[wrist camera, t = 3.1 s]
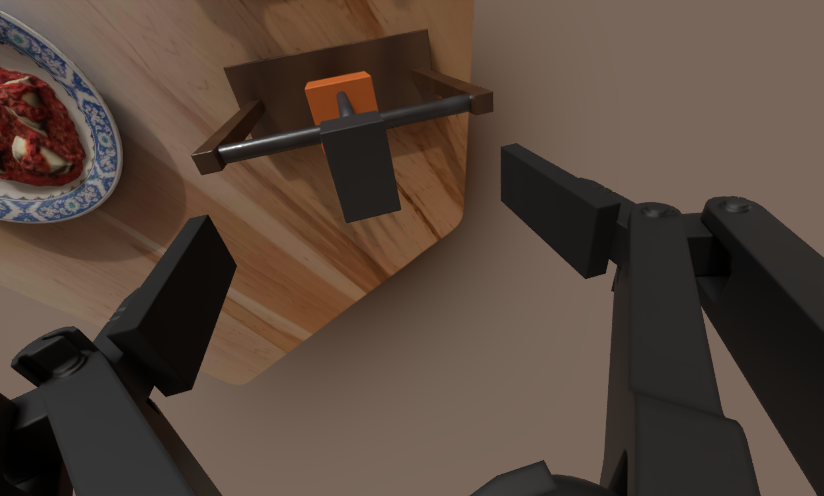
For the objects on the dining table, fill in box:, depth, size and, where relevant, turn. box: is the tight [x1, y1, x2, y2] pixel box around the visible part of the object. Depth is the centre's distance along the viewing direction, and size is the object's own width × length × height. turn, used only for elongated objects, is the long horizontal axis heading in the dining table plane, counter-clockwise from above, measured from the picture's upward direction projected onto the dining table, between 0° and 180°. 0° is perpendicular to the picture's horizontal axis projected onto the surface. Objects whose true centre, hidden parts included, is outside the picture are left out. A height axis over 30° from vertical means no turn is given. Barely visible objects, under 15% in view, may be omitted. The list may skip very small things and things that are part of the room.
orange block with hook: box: [305, 71, 401, 223], centre depth 27 cm, size 6×6×22 cm
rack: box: [191, 29, 493, 175], centre depth 36 cm, size 26×10×24 cm, turn 99°
